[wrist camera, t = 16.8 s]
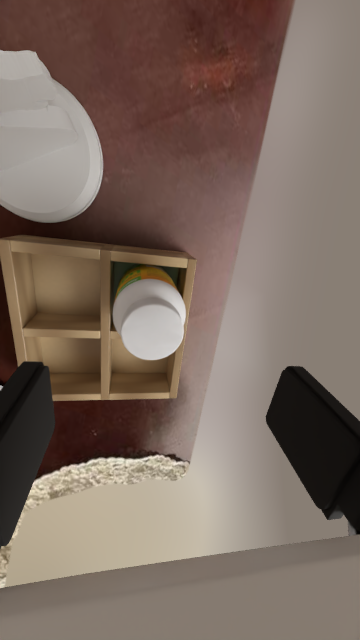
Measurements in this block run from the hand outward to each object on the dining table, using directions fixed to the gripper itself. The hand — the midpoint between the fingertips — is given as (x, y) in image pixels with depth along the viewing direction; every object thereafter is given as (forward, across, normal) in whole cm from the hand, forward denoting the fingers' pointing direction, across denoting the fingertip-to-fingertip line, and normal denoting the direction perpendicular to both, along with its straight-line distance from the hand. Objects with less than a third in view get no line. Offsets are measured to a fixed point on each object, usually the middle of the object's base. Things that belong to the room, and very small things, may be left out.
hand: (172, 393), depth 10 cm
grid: (+16, +4, +4) cm, 17 cm away
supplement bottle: (+16, +1, 0) cm, 16 cm away
